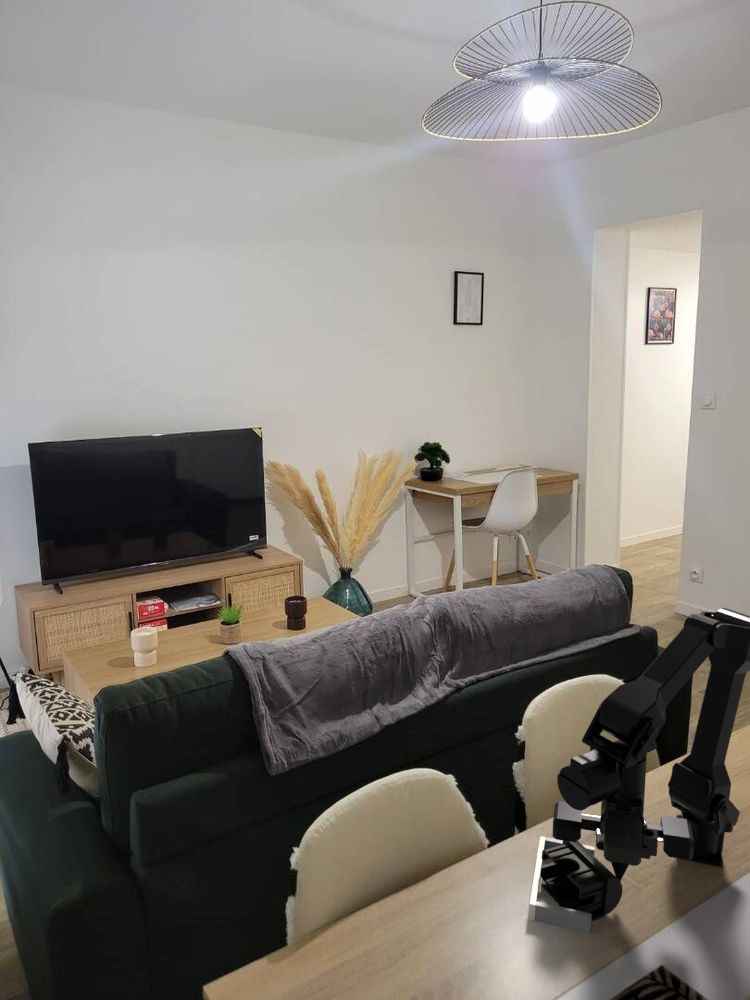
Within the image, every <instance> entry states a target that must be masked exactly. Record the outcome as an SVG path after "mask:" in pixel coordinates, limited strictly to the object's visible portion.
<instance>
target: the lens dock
mask: <svg viewBox="0 0 750 1000" xmlns="http://www.w3.org/2000/svg"><path fill="white" fill-rule="evenodd" d="M562 844H563V840H556V839H555V838H554V837H547V836H542V835H540V837H539V842H538V849H537V854H536V861H535V868H534V875H533V882H532V887H531V893H530V900H529V908H528V909H529V911H528V920H530V921H535V922H538V923H543V924H547V925H552V926H556V927H560V928H564V929H567V930H569V929H570V930H573V931H577V932H581V933H586V934H591V928H592V927H591V926H592V925H591V924H592V922H591V918H592V914H590V913H586V912H582V911H577V910H573V909H568V908H564V907H560V906H559V905H554V904H551V903H546V902H541V901H538V898H539V897H538V896H539V891H540V885H541V879H542V878H541V875H540V873H541V866H543V863H544V860H542V851H543V850H545V849H548V848H552V847H555V846H559V845H562ZM582 845H583V846H584V847H585V848H586V849H587V850H588V851H589V852H590V853H591V854H592V855H593V856H594V857H595V850H596V849H595V846H593V845H592V846H591V845H587V844H582Z"/></svg>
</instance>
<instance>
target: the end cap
mask: <svg viewBox="0 0 750 1000" xmlns="http://www.w3.org/2000/svg"><path fill="white" fill-rule="evenodd" d="M583 845H584V844H582V843H581V842H580V841H579V840H578V841H576V842H569V841H563V844H562V845H559V846H555V847H552V848H548V849H545V850H543V851H542V860H543V861H545V860H550V861H551V863H548V864H545V865H542V866H541V873H540V875H541V878H540V879H542V880H540V885H541V887H542V888H543V889H544V890H545V892H547V894H549V896H550V897H551V898H552V899H553V900H554V901H555V903H556V904H557V906H560V907H564V908H568V909H573V910H577V911H582V912H586V913H590V914H592V918H591V923H592V922H595V921H597V920H600V919H602V918H604V917H606V916H607V915H608V914H610V913H611V912H613V911H614V910H615V909H616V907H617V906H618V905H619V903H620V900H621V899H622V895H623V884H622V881H621V882H620V880H619V879H618V878H617V877H616V876H615V873H613V872H612V871H610V870H609V869H608V868H607V867H606V865H604V863H602V861H600V860H599V859H598V858H596V856H595V855H594V856H593V855H592V854H591V853H590V852H589V851H588V850H587V849H586V848H585V847H584V846H583Z"/></svg>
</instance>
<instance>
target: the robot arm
mask: <svg viewBox="0 0 750 1000" xmlns="http://www.w3.org/2000/svg"><path fill="white" fill-rule="evenodd" d="M682 627H683V628H682V629H681V630H680V631H679V632H678V633H677V635H675V637H674V638H673V639H672V640H671V641H670V642H669V643H668V645H667V646H666V647H665V648H664V649H663V651H661V653H660V654H659V655H658V657H656V658H655V660H654V661H653V662H652V663H651V664H650V665H649V666H648V667H647V669H645V671H644V672H643V673H642V675H640V676H639V677H637V679H635V680H632V681H629V682H626V683H624V684H623V683H622V684H620V685H619V686H618V687H616V689H615V688H614V690H613V691H612V692H611V693H609V694H608V695H607V696H606V697H605V698H604V699H603V700H602V701H601V703H600V704H599V706H598V709H597V710H596V712H595V714H594V716H593V718H592V720H591V721H590V724H589V725H588V727H587V729H586V731H585V732H584V735H583V737H582V739H581V742H582V743H583V744H584V745H586V746H587V747H589V751H587V752H585V753H583V754H581V755H580V754H579V755H576V756H574V757H571V758H570V762H569V764H568V765H566V766H564V767H561V769H560V770H559V773H558V774H557V778H556V779H557V780H556V781H557V782H556V783H557V787H558V790H559V793H560V795H561V797H562V798H563V800H564V801H561V800H558V801H557V802H556V803H555V804H554V809H553V819H552V838H553V839H556V840H563V841H569V842H576V841H579V840H580V839H582V830H585V831H591V832H595V846H596V848H597V850H598V851H603V857H604V859H605V860H606V861H607V862H609V863H610V864H611V866H612V869H613V872H614V873H613V874H614V875H615V876H616V877H617V878H618V879H619V880H620V882H621V883H622V879H623V878H624V875H625V873H626V871H627V869H628V868H629V866H633V867H634V866H635V867H637V866H639V865H640V864H641V863H642V859H645V860H651V857H657V856H658V845H659V844H658V843H663V844H662V845H663V846H662V851H663V853H665V854H666V856H668V857H669V858H673V859H679V860H680V859H681V860H687V861H694V862H699V863H703V864H710V865H714V866H719V867H720V866H721V867H722V866H724V858H723V850H724V849H723V848H724V841H725V840H724V839H725V835H726V834H725V833H732V832H733V831H734V826H736V825H737V823H738V821H739V816H740V813H741V811H740V810H739V809H738V808H737V807H736V806H735V804H734V803H733V802H732V801H731V799H730V797H731V789H732V788H731V787H732V781H731V778H730V776H729V773H728V769H727V767H726V764H725V763H726V758H727V753H728V750H729V747H730V746H729V745H730V741H731V736H732V734H733V733H732V732H733V728H734V725H735V721H736V716H737V712H738V708H739V704H740V700H741V699H740V698H741V695H742V691H743V687H744V683H745V678H746V676H747V673H748V672H749V671H750V615H748V614H745V613H741V612H738V611H736V610H733V609H729V608H726V607H721V608H719V609H718V610H716V611H704V610H703V611H702V610H701V611H700V613H691V614H689V615H688V616H687V618H686V619H685V621H684V623H683V626H682ZM707 658H708V660H709V663H710V669H709V673H708V677H707V681H706V686H705V689H704V694H703V698H702V703H701V707H700V710H699V711H700V712H699V716H698V719H697V724H696V729H695V732H694V737H693V740H692V741H693V742H692V745H691V749H690V752H689V754H688V755H687V756H686V757H684V759H682V760H681V761H680V762H676V763H674V765H673V766H672V769H671V775H670V779H669V781H668V784H667V786H668V795H669V798H670V803H671V807H672V808H675V809H677V810H679V811H680V814H677V815H676V817H675V816H674V817H673V816H668V815H661V816H660V821H659V825H657V824H656V825H655V824H648V823H646V820H645V817H644V809H645V796H646V795H645V793H646V792H645V791H646V775H647V759H648V757H647V756H648V753H650V752H652V751H655V750H656V749H657V748H658V745H657V744H656V743H655V741H656V739H657V737H658V736H659V733H660V732H661V730H662V729H663V727H664V726H665V723H666V712H667V708H668V705H669V704H670V702H671V701H672V700H673V698H675V697H676V695H677V694H678V693H679V691H680V690H681V689H682V688H683V687H684V685H685V684H686V683H688V681H689V680H690V679H691V677H692V676H693V675H694V674H695V673H696V672H697V670H698V669H699V668H700V667H701V665H702V664H703V663H704V662H705V661H706V660H707ZM603 732H605V733H607V734H608V735H610V736H612V737H614V738H615V739H616V740H614V741H612V740H610V739H608V738H606V737H605V736H603V735H601V734H602V733H603ZM599 803H600V815H599V816H598V815H591V814H585V813H583V810H586V809H589V808H591V807H593V806H594V805H597V804H599Z"/></svg>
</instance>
